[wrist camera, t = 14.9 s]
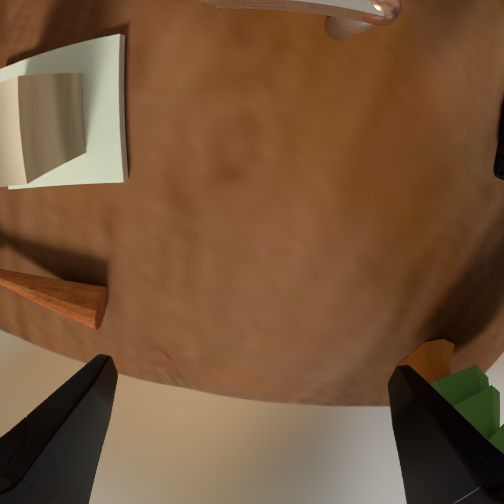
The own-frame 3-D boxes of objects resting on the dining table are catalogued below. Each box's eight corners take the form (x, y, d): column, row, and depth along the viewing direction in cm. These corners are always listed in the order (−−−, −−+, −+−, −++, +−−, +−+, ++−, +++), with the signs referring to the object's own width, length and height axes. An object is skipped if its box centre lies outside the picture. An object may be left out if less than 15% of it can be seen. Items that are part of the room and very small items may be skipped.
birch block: (82, 72, 14) (17, 75, 9) (86, 152, 16) (27, 184, 11) (22, 88, 14) (-43, 101, 9) (27, 159, 16) (-32, 191, 11)
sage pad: (125, 35, 14) (119, 33, 13) (128, 178, 18) (123, 182, 17) (5, 69, 14) (-2, 69, 13) (15, 185, 18) (8, 189, 17)
